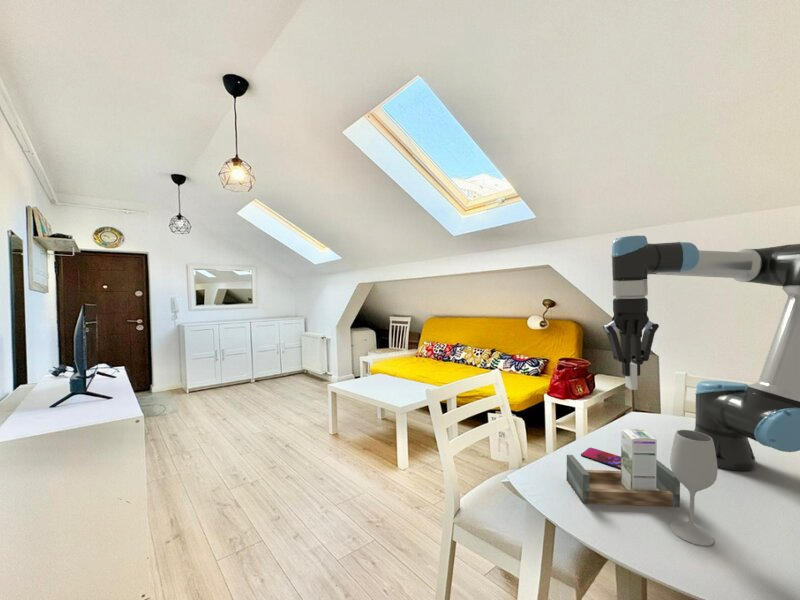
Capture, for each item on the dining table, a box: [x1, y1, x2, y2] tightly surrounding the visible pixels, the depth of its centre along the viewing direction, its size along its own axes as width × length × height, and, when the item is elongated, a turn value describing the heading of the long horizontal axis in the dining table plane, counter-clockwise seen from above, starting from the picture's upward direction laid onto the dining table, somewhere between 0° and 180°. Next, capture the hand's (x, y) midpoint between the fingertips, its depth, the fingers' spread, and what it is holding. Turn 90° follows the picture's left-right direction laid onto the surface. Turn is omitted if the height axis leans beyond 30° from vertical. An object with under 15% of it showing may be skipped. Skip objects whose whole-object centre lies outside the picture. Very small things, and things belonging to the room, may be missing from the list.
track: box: [566, 454, 681, 508], centre depth 90 cm, size 22×10×7 cm, turn 86°
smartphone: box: [580, 447, 621, 471], centre depth 106 cm, size 8×1×15 cm
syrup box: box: [620, 428, 658, 491], centre depth 88 cm, size 6×6×14 cm
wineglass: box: [669, 429, 719, 547], centre depth 74 cm, size 8×8×21 cm
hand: (631, 388), depth 92 cm, fingers closed
